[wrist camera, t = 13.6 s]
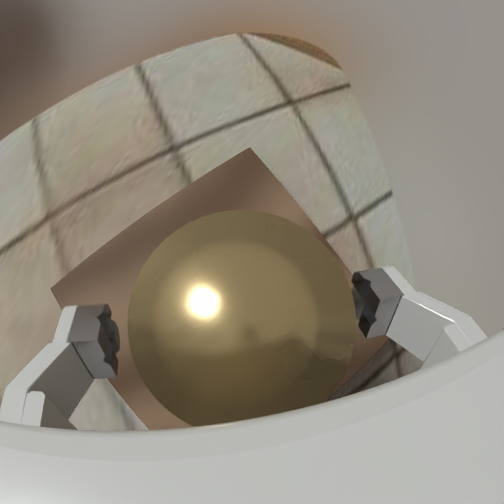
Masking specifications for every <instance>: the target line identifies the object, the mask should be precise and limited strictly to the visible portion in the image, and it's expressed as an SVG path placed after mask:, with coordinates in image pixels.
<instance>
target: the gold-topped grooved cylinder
mask: <svg viewBox="0 0 504 504" xmlns="http://www.w3.org/2000/svg"><path fill="white" fill-rule="evenodd" d="M127 327H128V340H129V345H130V349H131V354H132V357H133V360H134V363H135V365H136V368H137V370H138V372H139V374H140V376H141V378H142V380H143V382H144V384H145V385H146V386H147V388H148V389H149V391H150V392H151V393H152V395H153V396H154V397H155V398H156V399H157V400H158V401H159V402H160V403H161V404H162V405H163V407H164V408H166V409H167V410H168V411H169V412H171V413H172V414H173V415H175V416H176V417H177V418H179V419H181V420H182V421H184V422H186V423H187V424H189V425H191V426H193V427H197V426H206V425H214V424H221V423H228V422H235V421H241V420H247V419H253V418H258V417H263V416H268V415H273V414H278V413H283V412H287V411H292V410H296V409H300V408H304V407H308V406H312V405H316V404H320V403H324V402H325V401H326V400H327V399H328V398H329V397H330V395H331V394H332V393H333V392H334V390H335V389H336V388H337V386H338V384H339V383H340V381H341V379H342V378H343V376H344V374H345V372H346V369H347V367H348V365H349V362H350V359H351V356H352V352H353V349H354V343H355V337H356V312H355V304H354V299H353V295H352V291H351V288H350V286H349V283H348V280H347V278H346V276H345V274H344V272H343V270H342V268H341V266H340V265H339V263H338V262H337V260H336V259H335V257H334V256H333V254H332V253H331V252H330V251H329V250H328V248H327V247H326V246H325V245H324V244H323V243H322V242H321V241H320V240H319V239H317V238H316V237H315V236H314V235H313V234H312V233H310V232H309V231H307V230H306V229H304V228H303V227H301V226H300V225H298V224H296V223H294V222H292V221H290V220H288V219H285V218H282V217H280V216H277V215H274V214H270V213H265V212H261V211H252V210H230V211H224V212H218V213H214V214H210V215H207V216H203V217H201V218H198V219H196V220H194V221H192V222H189V223H187V224H186V225H184V226H183V227H181V228H179V229H178V230H176V231H175V232H173V233H172V234H171V235H170V236H169V237H167V238H166V239H165V240H164V241H163V242H162V243H161V244H160V245H159V246H158V247H157V248H156V249H155V250H154V251H153V252H152V254H151V255H150V257H149V258H148V259H147V261H146V262H145V264H144V265H143V267H142V269H141V271H140V273H139V275H138V277H137V279H136V282H135V285H134V287H133V290H132V293H131V298H130V303H129V307H128V320H127Z"/></svg>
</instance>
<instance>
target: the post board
mask: <svg viewBox="0 0 504 504" xmlns="http://www.w3.org/2000/svg"><path fill="white" fill-rule="evenodd" d="M230 210H252V211H261V212H265V213H270V214H274V215H277V216H280V217H282V218H285V219H288V220H290V221H292V222H294V223H296V224H298V225H300V226H301V227H303V228H304V229H306V230H307V231H309V232H310V233H312V234H313V235H314V236H315V237H316V238H317V239H319V240H320V241H321V242H322V243H323V244H324V245H325V246H326V247H327V248H328V250H329V251H330V252H331V253H332V254H333V256H334V257H335V259H336V260H337V262H338V263H339V265H340V266H341V268H342V270H343V272H344V274H345V276H346V278H347V280H348V283H349V286H350V288H352V287H353V286H354V285H353V284H352V282H351V280H352V276H353V275H352V274H351V273H350V271H349V270H348V269H347V267H346V266H345V265H344V263H343V262H342V261H341V259H340V258H339V257H338V255H337V254H336V253H335V251H334V250H333V249H332V247H331V246H330V245H329V243H328V242H327V241H326V239H325V238H324V237H323V236H322V234H321V233H320V232H319V230H318V229H317V228H316V227H315V225H314V224H313V223H312V222H311V220H310V219H309V218H308V217H307V215H306V214H305V213H304V212H303V210H302V209H301V208H300V207H299V205H298V204H297V203H296V202H295V200H294V199H293V198H292V197H291V195H290V194H289V193H288V192H287V191H286V189H285V188H284V187H283V186H282V185H281V183H280V182H279V181H278V180H277V179H276V177H275V176H274V175H273V174H272V173H271V171H270V170H269V169H268V168H267V167H266V166H265V164H264V163H263V162H262V161H261V160H260V159H259V157H258V156H257V155H256V154H255V153H254V152H253V150H252V149H251V148H248V149H246V150H244V151H243V152H241V153H239V154H238V155H236V156H234V157H233V158H231V159H229V160H228V161H226V162H224V163H223V164H221V165H220V166H218V167H216V168H215V169H213V170H212V171H210V172H208V173H207V174H205V175H204V176H202V177H201V178H199V179H197V180H196V181H194V182H193V183H191V184H190V185H188V186H187V187H185V188H184V189H182V190H181V191H179V192H178V193H176V194H175V195H173V196H172V197H170V198H169V199H167V200H166V201H164V202H163V203H161V204H160V205H158V206H157V207H156V208H154V209H153V210H151V211H150V212H148V213H147V214H146V215H144V216H143V217H141V218H140V219H139V220H137V221H136V222H134V223H133V224H132V225H130V226H129V227H128V228H126V229H125V230H124V231H122V232H121V233H119V234H118V235H117V236H115V237H114V238H113V239H111V240H110V241H109V242H107V243H106V244H105V245H104V246H102V247H101V248H100V249H98V250H97V251H96V252H95V253H93V254H92V255H91V256H89V257H88V258H87V259H86V260H84V261H83V262H82V263H81V264H79V265H78V266H77V267H76V268H74V269H73V270H72V271H71V272H70V273H68V274H67V275H66V276H65V277H64V278H62V279H61V280H60V281H59V282H58V283H56V284H55V285H54V286H53V287H52V288H51V291H52V293H53V295H54V296H55V298H56V300H57V302H58V304H59V305H60V307H61V309H62V311H63V308H64V307H66V306H75V305H87V304H104V303H106V304H108V305H109V307H110V309H111V311H112V315H111V319H112V320H113V321H115V322H116V324H117V327H118V330H119V334H120V350H119V351H118V353H117V354H116V357H117V359H118V361H119V362H118V373H117V378H107V379H108V380H109V381H110V383H111V384H112V385H113V387H114V388H115V389H116V391H117V392H118V393H119V394H120V396H121V397H122V398H123V399H124V401H125V402H126V403H127V404H128V406H129V407H130V408H131V409H132V410H133V412H134V413H135V414H136V415H137V416H138V417H139V419H140V420H141V421H142V422H143V423H144V424H145V426H146V427H147V428H148V429H149V430H161V429H175V428H187V427H193V426H191V425H189V424H187V423H186V422H184V421H182V420H181V419H179V418H177V417H176V416H175V415H173V414H172V413H171V412H169V411H168V410H167V409H166V408H164V407H163V405H162V404H161V403H160V402H159V401H158V400H157V399H156V398H155V397H154V396H153V395H152V393H151V392H150V391H149V389H148V388H147V386H146V385H145V384H144V382H143V380H142V378H141V376H140V374H139V372H138V370H137V368H136V365H135V363H134V360H133V357H132V354H131V349H130V345H129V340H128V327H127V320H128V307H129V303H130V298H131V293H132V290H133V287H134V285H135V282H136V279H137V277H138V275H139V273H140V271H141V269H142V267H143V265H144V264H145V262H146V261H147V259H148V258H149V257H150V255H151V254H152V252H153V251H154V250H155V249H156V248H157V247H158V246H159V245H160V244H161V243H162V242H163V241H164V240H165V239H166V238H167V237H169V236H170V235H171V234H172V233H173V232H175V231H176V230H178V229H179V228H181V227H183V226H184V225H186V224H187V223H189V222H192V221H194V220H196V219H198V218H201V217H203V216H207V215H210V214H214V213H218V212H224V211H230ZM358 322H359V320H358V319H356V337H355V343H354V349H353V352H352V356H351V359H350V362H349V365H348V367H347V369H346V372H345V374H344V376H343V378H342V379H341V381H340V383H339V384H338V386H337V388H336V389H335V390H334V392H333V393H332V394H331V395H330V397H332V396H333V395H334V394H335V393H336V392H337V391H338V390H339V389H340V388H341V387H342V386H344V385H345V384H346V383H347V382H348V381H349V380H350V379H351V378H352V377H353V376H354V375H355V374H356V373H357V372H358V371H359V370H360V369H361V368H362V367H363V366H364V365H365V364H366V363H367V362H368V361H369V360H370V359H371V358H372V357H373V356H374V355H375V354H376V353H377V352H378V351H379V350H380V349H381V348H382V347H383V345H384V344H385V343H386V342H387V341H388V340H389V339H390V338H389V337H388V336H386V334H384V335H380V336H376V337H372V338H368V339H366V338H365V336H364V335H363V333H362V331H361V330H360V328H359V327H358ZM330 397H329V398H330ZM329 398H328V399H329ZM328 399H327V400H328ZM327 400H326V401H327ZM326 401H325V402H326Z"/></svg>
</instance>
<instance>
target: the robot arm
mask: <svg viewBox="0 0 504 504" xmlns="http://www.w3.org/2000/svg"><path fill="white" fill-rule="evenodd" d="M351 282H352V284H353V285H354V286H353V287H352V288H351V291H352V295H353V299H354V304H355V312H356V319H358V320H359V322H358V327H359V328H360V330H361V331H362V333H363V335H364V336H365V338H366V339H368V338H372V337H376V336H380V335H384V334H386V336H388V337H389V338H391V339H392V340H394V341H395V342H396V343H398V344H399V345H401V346H402V347H404V348H405V349H406V350H408V351H409V352H411V353H412V354H414V355H415V356H416V357H418V358H419V359H421V360H422V361H424V362H423V364H422V365H421V367H420V368H419V370H418V371H416V372H413V373H411V374H408V375H406V376H403V377H401V378H398V379H395V380H393V381H390V382H387V383H384V384H382V385H379V386H376V387H373V388H370V389H367V390H364V391H361V392H358V393H355V394H351V395H348V396H345V397H341V398H338V399H335V400H331V401H327V402H324V403H320V404H316V405H312V406H308V407H304V408H300V409H296V410H292V411H287V412H283V413H278V414H273V415H268V416H263V417H258V418H253V419H247V420H241V421H235V422H228V423H221V424H214V425H206V426H197V427H187V428H175V429H161V430H138V431H94V430H78V429H77V428H76V427H75V426H74V425H73V424H72V423H71V422H70V421H69V420H68V419H69V418H70V416H71V414H72V413H73V411H74V410H75V408H76V407H77V405H78V404H79V402H80V401H81V399H82V397H83V396H84V394H85V393H86V391H87V390H88V388H89V387H90V385H91V384H92V382H93V381H94V380H93V379H103V378H117V373H118V362H119V361H118V359H117V357H116V354H117V353H118V351H119V350H120V334H119V330H118V327H117V324H116V322H115V321H113V320H112V319H111V315H112V311H111V309H110V307H109V305H108V304H106V303H104V304H87V305H75V306H66V307H64V308H63V311H62V314H61V317H60V320H59V323H58V326H57V329H56V333H55V336H54V339H53V343H49V344H48V345H46V346H45V347H44V348H43V349H42V350H41V351H40V352H39V354H38V355H37V356H36V357H35V358H34V359H33V360H32V361H31V362H30V363H29V364H28V365H27V366H26V367H25V368H24V369H23V370H22V371H21V372H20V373H19V374H18V375H17V376H16V377H15V378H14V379H13V380H12V382H11V383H10V384H9V385H8V386H7V387H6V389H5V393H4V397H3V401H2V405H1V409H0V504H504V329H502V330H500V331H499V332H497V333H495V334H493V335H491V336H489V337H488V338H487V336H486V335H485V334H484V333H483V331H482V330H481V329H480V328H479V327H478V325H477V324H476V323H475V322H474V321H473V319H472V318H471V317H470V316H469V315H467V314H465V313H462V312H461V311H459V310H456V309H454V308H452V307H450V306H448V305H446V304H444V303H442V302H440V301H438V300H436V299H434V298H432V297H430V296H427V295H425V294H423V293H421V292H416V291H415V290H414V289H413V288H412V287H411V286H410V284H409V283H408V282H407V281H406V280H405V279H404V278H403V276H402V275H401V274H400V273H399V272H398V271H397V270H396V269H395V267H393V266H391V265H390V266H385V267H379V268H375V269H370V270H364V271H358V272H355V273H354V274H353V276H352V280H351Z"/></svg>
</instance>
